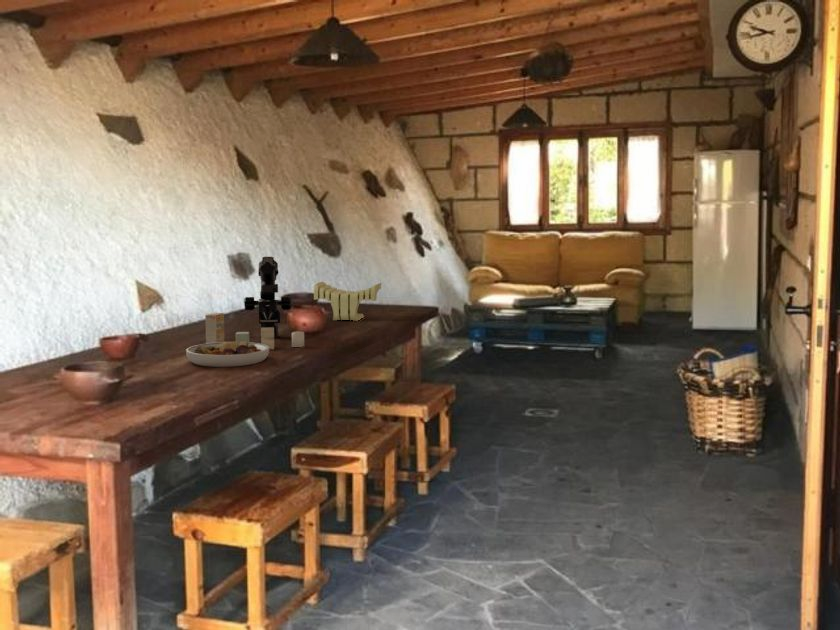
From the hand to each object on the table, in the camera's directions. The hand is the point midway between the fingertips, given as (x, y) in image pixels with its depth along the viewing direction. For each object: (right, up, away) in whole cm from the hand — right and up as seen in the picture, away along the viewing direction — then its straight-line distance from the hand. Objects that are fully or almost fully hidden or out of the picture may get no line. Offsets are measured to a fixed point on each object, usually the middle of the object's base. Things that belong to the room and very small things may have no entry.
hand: (267, 319), depth 366 cm
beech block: (+1, -11, -2) cm, 12 cm away
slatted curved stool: (+26, -1, +82) cm, 86 cm away
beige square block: (+12, -11, +1) cm, 16 cm away
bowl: (-10, -16, -30) cm, 35 cm away
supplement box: (-22, -11, +4) cm, 25 cm away
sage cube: (-11, -10, +6) cm, 16 cm away
